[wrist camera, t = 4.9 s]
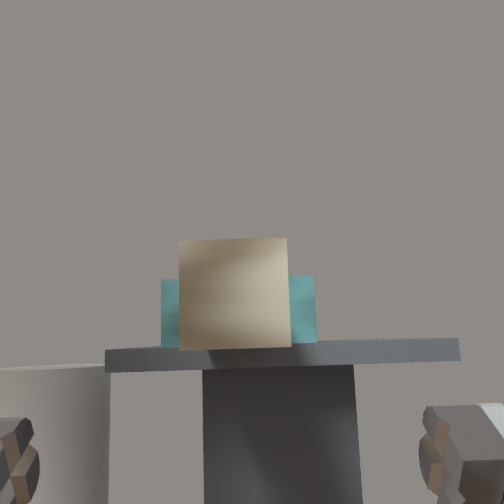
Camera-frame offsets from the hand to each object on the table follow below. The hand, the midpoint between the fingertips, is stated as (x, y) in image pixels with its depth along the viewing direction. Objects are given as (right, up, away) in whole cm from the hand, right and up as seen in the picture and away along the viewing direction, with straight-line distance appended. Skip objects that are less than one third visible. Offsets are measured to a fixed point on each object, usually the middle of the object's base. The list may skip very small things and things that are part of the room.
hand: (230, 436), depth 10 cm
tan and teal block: (0, -1, +13) cm, 13 cm away
